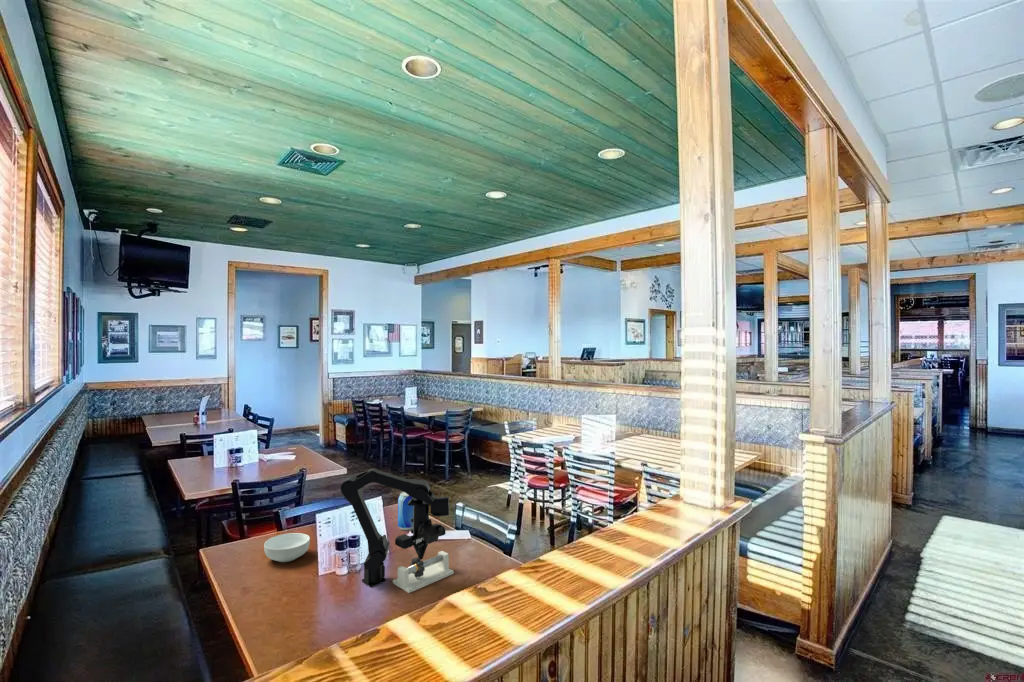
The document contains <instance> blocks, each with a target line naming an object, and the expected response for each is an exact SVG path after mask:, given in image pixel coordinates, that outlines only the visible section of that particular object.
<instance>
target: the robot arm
mask: <svg viewBox="0 0 1024 682" xmlns="http://www.w3.org/2000/svg"><path fill="white" fill-rule="evenodd" d="M371 483H376V484H379V485H382V486H386V487H389V488H392V489H395V490H398V491H401V492H405V493H407V494H408V495H409V496H411V497H412V499H411V500H410V501H409V502H408V506H413V518H412V519H411V522H413V529H411V530H410V533H411V534H412V535H407V534H405V533H403V534H401V535H398V536H396V538H395V540H394V545H395V546H397V547H399V548H401V549H403V550H406V549H408V548H412V547H413V548H414V550H415V553H416V555H417V558H418V557H419V558H420V559H421V560H423V559H424V556H425V553H426V551H427V548H428V546H429V544H430V545H431V544H432V543H434V542H439V541H438V540H439V537H442V536H445V535H446V528H445V526H443V525H442V524H439V523H435V524H432V523H433V521H432V519H430V514H431V516H433V517H449V516H450V500H449V499H450V498H449V496H437V497H435V496H436V495H435V493H434V492H432V490H431V488H430V484H429V482H428V481H427V480H424V479H416V478H413V479H412V478H404V477H402V476H398V475H395V474H392V473H389V472H384V471H382V470H379V469H378V468H370V469H368V470H367V471H364V472H362V473H359V474H356V475H349V476H348V477H347V478H346V479H345V480H344V481H343V482H342V484H341V486H340V493H341V494H342V495H343V497H344V498H345V500H346V501H347V502H348V503H349V504H350V505H352V509H353V511H354V513H355V515H356V518H357V519H358V522H359V525H360V527H361V529H362V531H363V533H364V535H365V539H366V540H367V551H368V554H367V556H366V557H365V558H366V559H364V560H365V561H364V563H363V579H361V582H362V583H364V584H365V585H367V586H368V587H374V586H377V585H380V584H382V583H385V582H386V581H387V578H385V575H386V572H385V571H386V566H385V563H384V562H385V560H387V556H388V554H389V551H390V542H389V540H388V538H387V535H386V534H383V535H382V534H380V532H379V531H378V529H377V526H376V523H375V521H374V519H373V517H372V515H371V513H370V510H369V508H368V505H367V504H366V501H365V499H364V494H363V493H364V491H363V488H364V487H365V486H367V485H369V484H371Z"/></svg>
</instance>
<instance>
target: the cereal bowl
mask: <svg viewBox="0 0 1024 682" xmlns="http://www.w3.org/2000/svg"><path fill="white" fill-rule="evenodd" d="M310 542H311V538H310V535H308V534H305V533H299V532H292V533H290V532H289V533H283V534H278V535H274V536H273V537H272V536H271V537H270V538H269V539H267V540H266V541H265V542H264V543H263V544H264V545H263V546H264V547H263V549H264V554H265V556H266V557H267V558H268V559H270V560H273V561H276V562H279V563H287V562H292V561H294V560H296V559H297V558H299V557H301V556H303V555H304V554H305V553H306V552H307V551H308V549H309V547H310V544H311V543H310Z"/></svg>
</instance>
